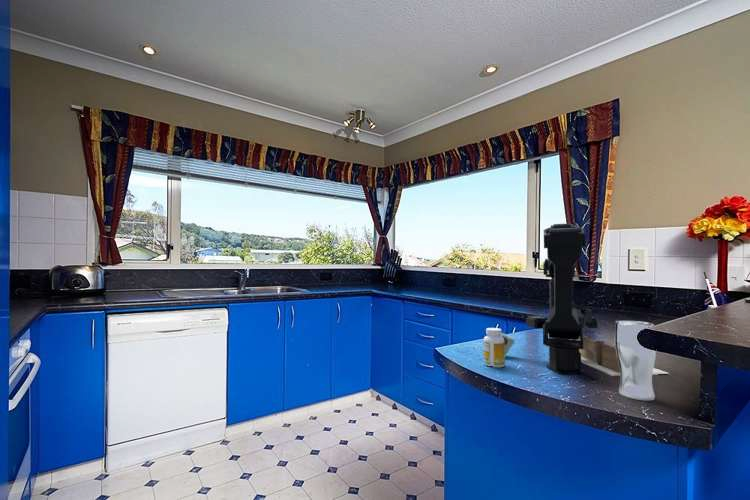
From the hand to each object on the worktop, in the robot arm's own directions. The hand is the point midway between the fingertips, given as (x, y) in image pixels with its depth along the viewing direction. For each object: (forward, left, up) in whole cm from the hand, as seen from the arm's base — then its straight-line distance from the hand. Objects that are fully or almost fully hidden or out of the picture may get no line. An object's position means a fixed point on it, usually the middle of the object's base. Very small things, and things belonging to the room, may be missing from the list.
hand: (562, 351), depth 102 cm
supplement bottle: (-22, -5, -2) cm, 23 cm away
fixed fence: (+6, -13, -2) cm, 14 cm away
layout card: (+10, -7, -2) cm, 13 cm away
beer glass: (-1, -28, -2) cm, 28 cm away
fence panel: (+6, -2, -1) cm, 6 cm away
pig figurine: (-16, +4, -2) cm, 17 cm away
